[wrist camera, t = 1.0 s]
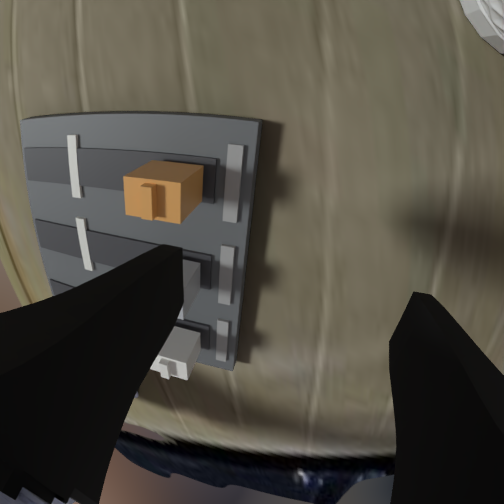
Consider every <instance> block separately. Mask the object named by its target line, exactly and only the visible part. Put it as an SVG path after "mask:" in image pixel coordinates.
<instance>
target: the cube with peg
mask: <svg viewBox="0 0 504 504" xmlns="http://www.w3.org/2000/svg"><path fill="white" fill-rule="evenodd" d="M183 286H184V304H183V306H182V309H181V311H180V314H179V316H178V319H182V320H184V318H185V316H186V314H187V312H188V310H189V309H190V307H191V305H192V303H193V301H194V299H195V298H196V296H197V294H198V292H199V290H200V263H198V262H193V261H188V260H183Z"/></svg>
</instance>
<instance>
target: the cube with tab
mask: <svg viewBox="0 0 504 504" xmlns="http://www.w3.org/2000/svg"><path fill="white" fill-rule="evenodd" d="M200 351H201V343H200V333H199V332H195V331H191V330H187V329H184V328H180V327H176V326H174V328H173V330H172V332H171V333H170V335H169V337H168V339H167V340H166V342H165V344H164V345H163V347H162V349H161V351H160V352H159V354H158V356H157V357H156V359H155V361H154V362H153V364H152V366H151V368H150V369H152V370H155V371H158V372H160V373H161V377H163V378H166V379H170V376H174V377H178V378H181V379H184V380H188V379H189V376H190V374H191V372H192V369H193V367H194V365H195V363H196V360H197V358H198V356H199V353H200Z"/></svg>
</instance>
